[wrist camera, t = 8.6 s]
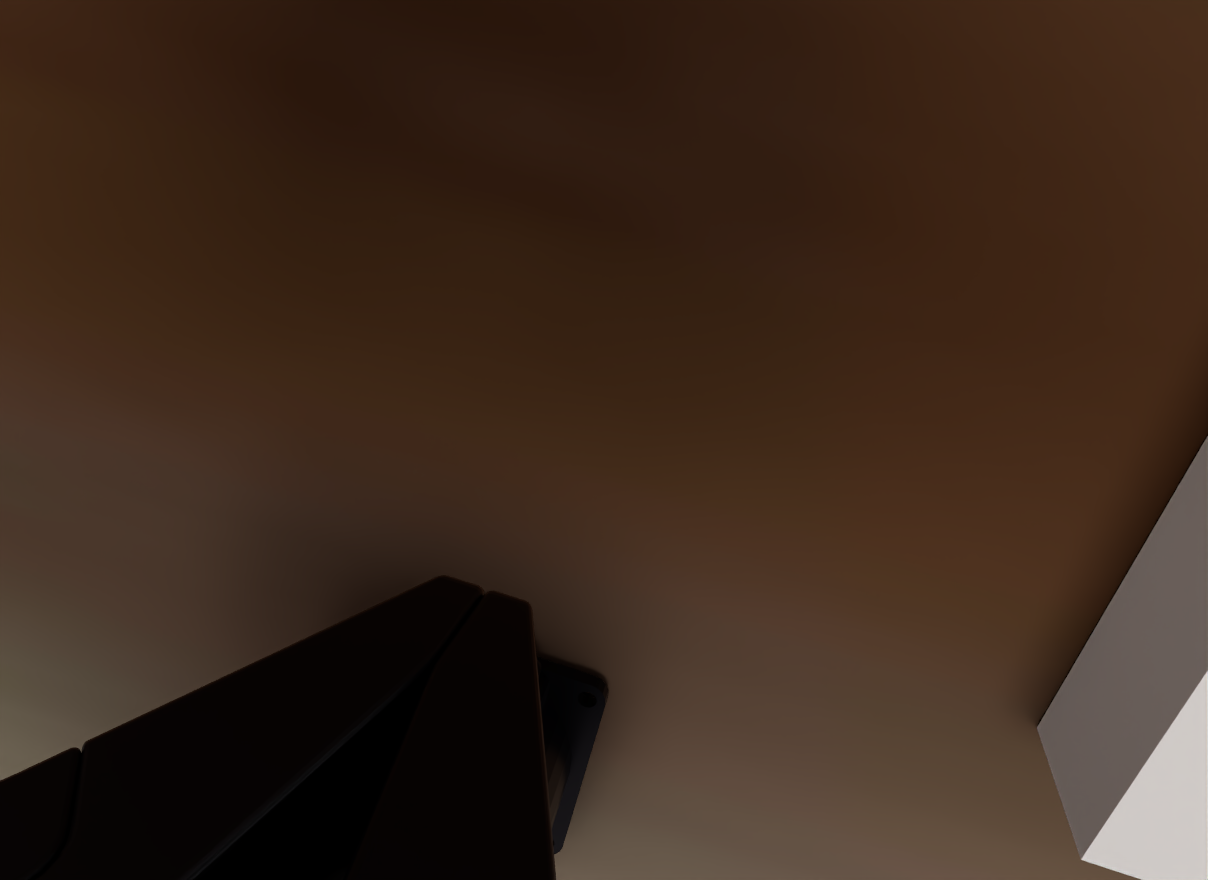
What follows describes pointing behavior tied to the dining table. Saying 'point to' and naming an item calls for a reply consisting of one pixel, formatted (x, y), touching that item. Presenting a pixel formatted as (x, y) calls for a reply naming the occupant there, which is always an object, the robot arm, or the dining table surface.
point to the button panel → (1143, 707)
